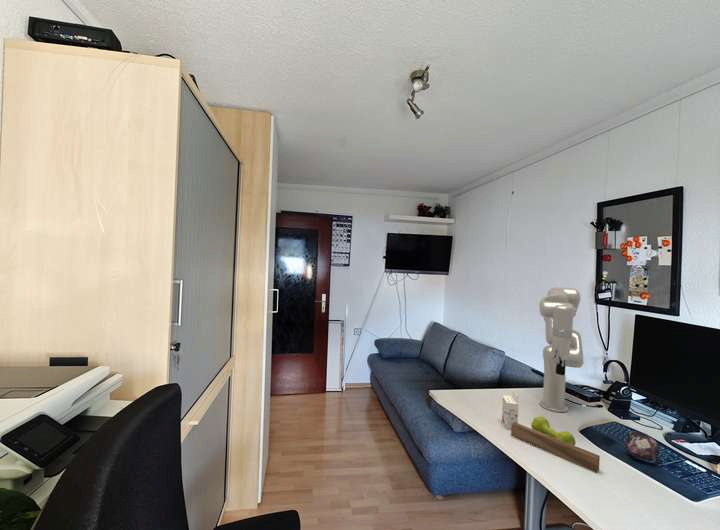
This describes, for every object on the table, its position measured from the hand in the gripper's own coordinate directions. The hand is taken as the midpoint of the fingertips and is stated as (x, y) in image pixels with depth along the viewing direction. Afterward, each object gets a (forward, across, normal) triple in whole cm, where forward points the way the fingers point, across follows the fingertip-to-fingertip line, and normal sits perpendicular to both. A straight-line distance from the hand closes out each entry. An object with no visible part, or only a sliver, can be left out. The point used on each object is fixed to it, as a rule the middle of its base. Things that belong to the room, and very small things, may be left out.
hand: (560, 374), depth 143 cm
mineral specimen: (+24, 0, +28) cm, 37 cm away
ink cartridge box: (+25, +15, -15) cm, 32 cm away
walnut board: (+24, +23, +4) cm, 33 cm away
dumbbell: (+24, +15, +2) cm, 29 cm away
